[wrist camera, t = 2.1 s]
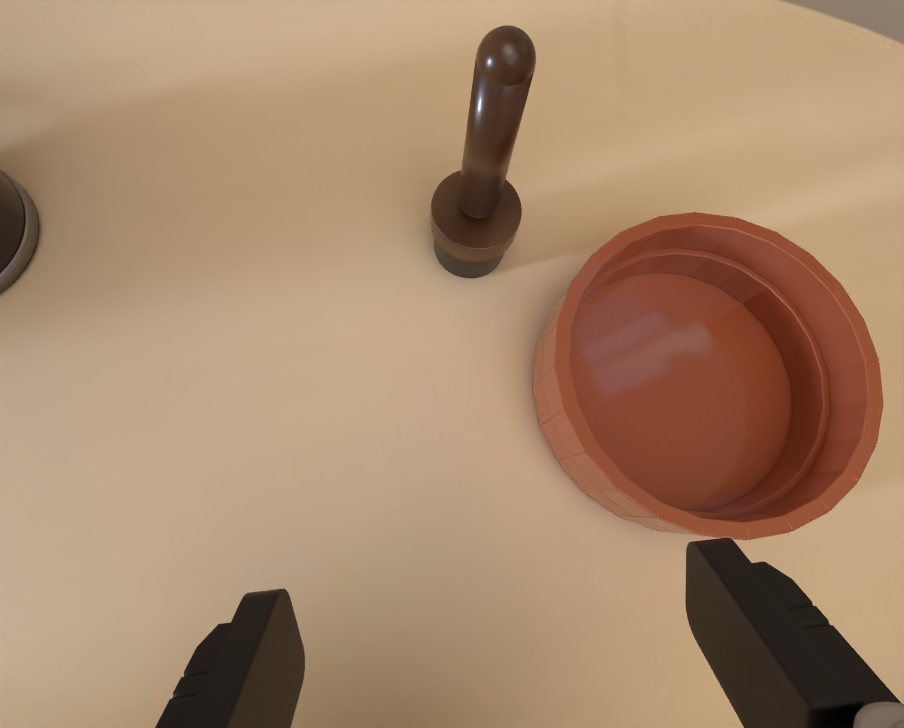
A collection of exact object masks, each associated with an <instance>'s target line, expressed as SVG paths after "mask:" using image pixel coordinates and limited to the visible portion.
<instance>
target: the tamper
mask: <svg viewBox="0 0 904 728" xmlns="http://www.w3.org/2000/svg"><path fill="white" fill-rule="evenodd" d="M535 64H536V53H535V48H534V45H533V43H532V41H531V39H530V37H529V36H528V35H527V34H526V33H525V32H524V31H523V30H521V29H519V28H517V27H514V26H501V27H498V28H495V29H493V30H492V31H490V32H489V33H488V34H487V35H486V36H485V37H484V38H483V40H482V41H481V43H480V45H479V47H478V51H477V55H476V61H475V69H474V77H473V84H472V92H471V100H470V108H469V115H468V123H467V131H466V139H465V146H464V154H463V162H462V170H461V171H458V172H455V173H453V174H451V175H450V176H448V177H447V178H446V179H444V180H443V181H442V182H441V183H440V184H439V186H438V187H437V189H436V191H435V193H434V195H433V198H432V203H431V228H432V232H433V235H434V237H435V243H434V247H435V253H436V256H437V258H438V260H439V262H440V263H441V265H442V266H443V267H444V268H445V269H446V270H448V271H449V272H451V273H452V274H454V275H457V276H460V277H464V278H477V277H481V276H484V275H486V274H488V273H490V272H491V271H493V270H494V269H495V268H496V267H497V266H498V264H499V263H500V261H501V259H502V257H503V254H504V251H505V250H506V249H507V248H508V247H509V246H510V245H511V243H512V242H513V239H514V237H515V235H516V232H517V229H518V226H519V223H520V220H521V214H522V209H521V203H520V199H519V197H518V194H517V192H516V191H515V189H514V188H513V186H512V185H511V184H510V183H509V182H508V181H507V180H506V179H505V178H506V174H507V170H508V167H509V163H510V159H511V155H512V152H513V148H514V144H515V140H516V137H517V133H518V129H519V125H520V122H521V118H522V114H523V110H524V107H525V103H526V99H527V95H528V92H529V88H530V84H531V80H532V77H533V73H534V69H535Z"/></svg>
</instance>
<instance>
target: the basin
mask: <svg viewBox="0 0 904 728" xmlns="http://www.w3.org/2000/svg"><path fill="white" fill-rule="evenodd" d="M878 361H879V359H878V356H877V354H876V351H875V348H874V345H873V343H872V340H871V337H870V334H869V332H868V329H867V326H866V323H865V321H864V319H863V317H862V316H861V314H860V313H859V311H858V310H857V308H856V306H855V305H854V303H853V302H852V300H851V299H850V297H849V296H848V294H847V292H846V291H845V289H844V288H843V286H842V285H841V284H840V283H839V282H838V281H837V280H836V279H835V278H834V277H833V276H832V275H831V274H830V273H829V272H828V271H827V270H826V269H825V268H824V267H823V266H822V265H821V264H820V263H819V262H818V261H817V260H816V259H815V258H814V257H813V256H812V255H810V253H808V252H807V251H805V250H804V249H802V248H800V247H799V246H797V245H796V244H794V243H793V242H791V241H789V240H788V239H786V238H785V237H783V236H782V235H780V234H778V233H777V232H774V231H772V230H769V229H766V228H764V227H761V226H758V225H755V224H753V223H750V222H747V221H745V220H742V219H739V218H735V217H728V216H720V215H712V214H704V213H696V212H694V213H685V214H677V215H669V216H661V217H657V218H654V219H652V220H649V221H647V222H644V223H642V224H639V225H637V226H634V227H632V228H629V229H627V230H624V231H622V232H620V233H619V234H618V235H616V236H615V237H614V238H612V239H611V240H610V241H609V242H607V243H606V244H605V245H603V246H602V247H601V248H600V249H598V250H597V251H596V252H594V253H593V254H592V255H591V256H590V258H589V259H588V260H587V262H586V263H585V265H584V266H583V267H582V269H581V270H580V272H579V273H578V274H577V276H576V277H575V279H574V280H573V281H572V283H571V284H570V286H569V287H568V289H567V290H566V291H565V293H564V294H563V296H562V297H561V299H560V300H559V302H558V303H557V304H556V306H555V307H554V309H553V310H552V312H551V313H550V315H549V316H548V317H547V319H546V322H545V324H544V327H543V330H542V333H541V336H540V339H539V342H538V344H537V347H536V350H535V358H534V374H533V392H534V397H535V402H536V407H537V412H538V417H539V422H540V425H541V428H542V430H543V432H544V434H545V436H546V438H547V440H548V442H549V444H550V446H551V448H552V450H553V453H554V455H555V457H556V459H557V460H558V462H559V463H560V465H561V466H562V467H563V468H564V469H565V471H566V472H567V473H568V474H569V475H570V476H571V478H572V479H573V480H574V481H575V482H576V484H577V485H578V486H579V487H580V488H581V490H582V491H583V492H585V493H586V494H587V495H589V496H590V497H591V498H593V499H594V500H596V501H597V502H598V503H600V504H601V505H603V506H604V507H605V508H607V509H608V510H609V511H611V512H612V513H614V514H615V515H617V516H618V517H621V518H624V519H626V520H629V521H631V522H634V523H637V524H639V525H642V526H644V527H647V528H649V529H652V530H656V531H664V532H673V533H682V534H691V535H700V536H710V537H720V538H730V539H739V540H752V539H757V538H762V537H768V536H773V535H779V534H784V533H789V532H791V531H794V530H796V529H798V528H800V527H802V526H803V525H805V524H807V523H809V522H811V521H813V520H815V519H817V518H819V517H820V516H822V515H824V514H826V513H828V511H831V509H832V508H833V507H834V506H835V505H836V504H837V503H838V502H839V501H840V500H841V499H842V498H843V497H844V496H845V495H846V494H847V493H848V492H849V491H850V490H851V489H852V488H853V487H854V486H855V485H856V484H857V481H859V479H860V477H861V475H862V473H863V471H864V469H865V467H866V465H867V463H868V461H869V459H870V457H871V455H872V453H873V451H874V449H875V447H876V445H875V444H877V439H878V433H879V427H880V421H881V415H882V409H883V404H882V403H883V394H882V385H881V375H880V365H879V362H878Z"/></svg>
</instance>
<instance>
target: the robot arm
mask: <svg viewBox="0 0 904 728" xmlns="http://www.w3.org/2000/svg"><path fill="white" fill-rule="evenodd" d="M37 237H38V218H37V213H36V209H35V206H34V204H33V202H32V200H31V199H30V197H29V195H28V194H27V193H26V192H25V190H24V189H23V188H22V187H21V186H20V185H19V184H17V183H16V182H15V181H14V180H12V179H11V178H10V177H9V176H7V175H6V174H5V173H4V172H2V171H0V292H1V291H2V290H4V289H5V288H6V287H8V286H9V285H10V284H11V283H12V282H13V281H14V280H15V279H16V278H17V277H18V276H19V275H20V273H21V272H22V271H23V269H24V268H25V266H26V265H27V263H28V262H29V260H30V258H31V256H32V254H33V251H34V249H35V245H36V242H37ZM686 612H687V617H688V621H689V625H690V628H691V630H692V633H693V635H694V638H695V640H696V641H697V643H698V645H699V647H700V649H701V650H702V652H703V654H704V656H705V658H706V660H707V661H708V663H709V665H710V667H711V669H712V670H713V672H714V674H715V676H716V678H717V679H718V681H719V683H720V685H721V687H722V688H723V690H724V692H725V694H726V696H727V697H728V699H729V701H730V703H731V705H732V706H733V708H734V710H735V712H736V714H737V715H738V717H739V719H740V721H741V723H742V724H743V726H744V728H904V704H902V703H901V702H900V701H899V700H898V699H897V698H896V697H895V696H894V695H893V693H892V692H891V691H890V690H889V689H888V688H887V687H886V685H885V684H884V683H883V682H882V681H881V680H880V679H879V677H878V676H877V675H876V674H875V673H874V672H873V671H872V669H871V668H870V667H869V666H868V665H867V664H866V663H865V662H864V660H863V659H862V658H861V657H860V656H859V655H858V654H857V652H856V651H855V650H854V649H853V648H852V647H851V646H850V644H849V643H848V642H847V641H846V640H845V639H844V638H843V636H842V635H841V634H840V633H839V632H838V631H837V630H836V629H835V627H834V626H833V625H830V624H829V622H828V619H827V618H826V617H825V616H824V615H823V614H822V613H821V611H820V610H819V609H818V608H817V607H816V606H813V605H812V601H811V600H810V599H809V598H808V597H807V596H806V594H805V593H804V592H803V591H802V590H801V589H800V588H799V586H798V585H797V584H796V583H795V582H794V581H793V580H792V579H791V578H789V577H788V576H786V575H785V574H783V573H782V572H780V571H779V570H777V569H775V568H774V567H772V566H771V565H769V564H768V563H766V562H758V563H751V562H750V561H749V559H748V558H747V557H746V556H745V554H744V553H743V552H742V551H741V549H740V548H739V547H738V546H737V544H736V543H735V542H734V541H733V540H732V539H730V538H720V539H711V540H703V541H695V542H689V543H688V545H687V551H686ZM304 670H305V655H304V647H303V643H302V640H301V636H300V632H299V629H298V625H297V621H296V618H295V614H294V611H293V607H292V603H291V600H290V596H289V594H288V592H287V590H285V589H277V590H268V591H260V592H251V593H247V594H245V595H244V597H243V598H242V600H241V602H240V604H239V606H238V608H237V611H236V613H235V615H234V617H233V619H232V621H231V623H224V624H218V625H217V626H216V627H215V629H214V630H213V631H212V632H211V633H210V634H209V635H208V636H207V637H206V638H205V639H204V640H203V641H202V642H201V643H200V644H199V645H198V646H197V648H196V650H195V652H194V654H193V656H192V658H191V660H190V662H189V663H188V665H187V667H186V669H185V671H184V677H181V679H180V681H179V683H178V685H177V687H176V689H175V690H174V692H173V698H172V699H170V700H169V702H168V704H167V706H166V708H165V710H164V712H163V714H162V716H161V717H160V719H159V721H158V723H157V725H156V727H155V728H290V727H291V724H292V720H293V716H294V713H295V709H296V705H297V702H298V698H299V694H300V691H301V687H302V683H303V678H304Z"/></svg>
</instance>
